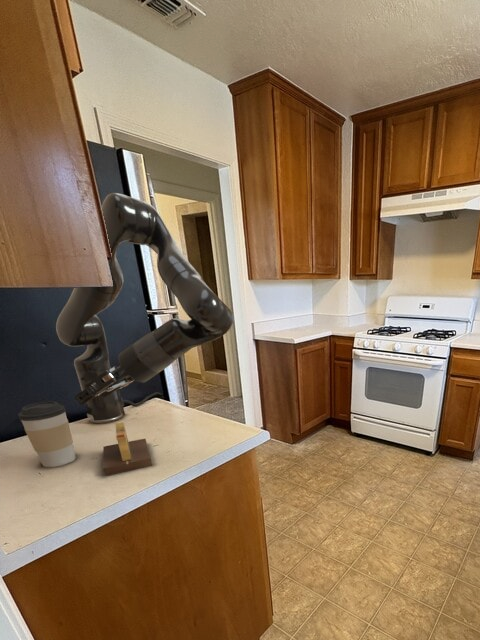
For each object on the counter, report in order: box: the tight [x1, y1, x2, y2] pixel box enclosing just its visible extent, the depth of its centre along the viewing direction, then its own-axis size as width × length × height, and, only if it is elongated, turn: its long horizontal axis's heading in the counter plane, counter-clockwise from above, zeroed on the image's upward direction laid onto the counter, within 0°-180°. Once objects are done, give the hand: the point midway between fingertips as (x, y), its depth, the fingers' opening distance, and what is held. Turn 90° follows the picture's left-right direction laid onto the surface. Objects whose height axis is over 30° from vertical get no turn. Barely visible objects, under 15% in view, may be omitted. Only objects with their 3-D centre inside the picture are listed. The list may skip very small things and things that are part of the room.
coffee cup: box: [17, 401, 76, 468], centre depth 86 cm, size 9×9×15 cm
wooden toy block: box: [115, 422, 131, 461], centre depth 87 cm, size 11×2×6 cm, turn 30°
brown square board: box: [90, 438, 160, 477], centre depth 89 cm, size 15×15×2 cm
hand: (90, 397), depth 77 cm, fingers open, 8 cm apart
